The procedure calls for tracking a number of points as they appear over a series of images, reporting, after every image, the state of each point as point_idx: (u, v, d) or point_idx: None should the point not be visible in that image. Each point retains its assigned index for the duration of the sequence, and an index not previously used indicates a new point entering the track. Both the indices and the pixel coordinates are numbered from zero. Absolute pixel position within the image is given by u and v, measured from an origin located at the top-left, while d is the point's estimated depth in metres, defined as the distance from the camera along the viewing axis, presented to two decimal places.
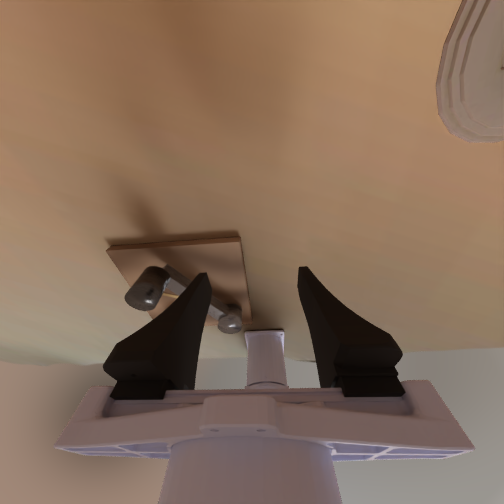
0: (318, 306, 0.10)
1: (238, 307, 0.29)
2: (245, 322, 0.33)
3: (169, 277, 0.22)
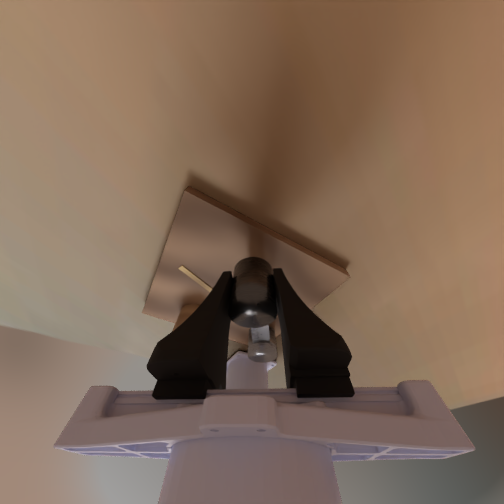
0: (282, 308, 0.10)
1: None
2: None
3: None
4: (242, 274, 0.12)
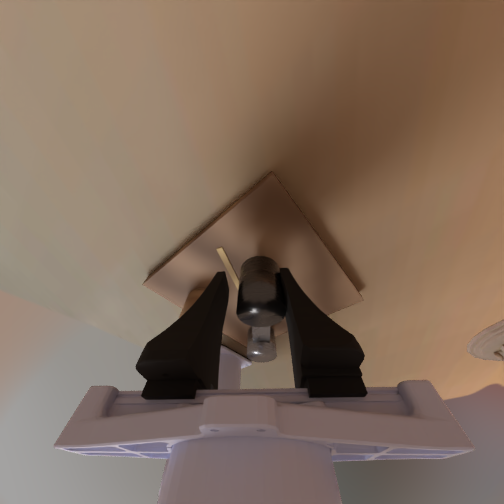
0: (291, 307, 0.10)
1: (274, 333, 0.24)
2: (245, 343, 0.27)
3: None
4: (251, 273, 0.12)
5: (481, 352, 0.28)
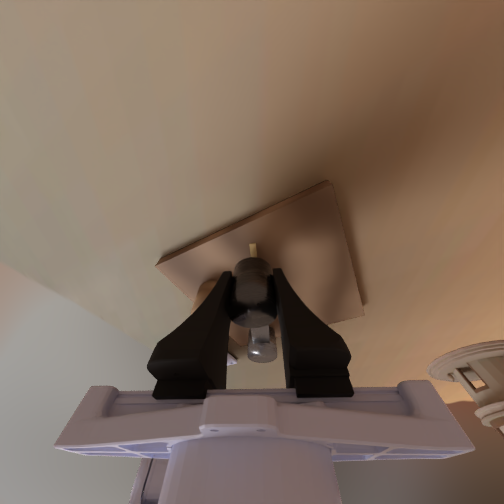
0: (282, 308, 0.10)
1: None
2: (240, 342, 0.27)
3: None
4: (242, 274, 0.13)
5: (438, 373, 0.33)
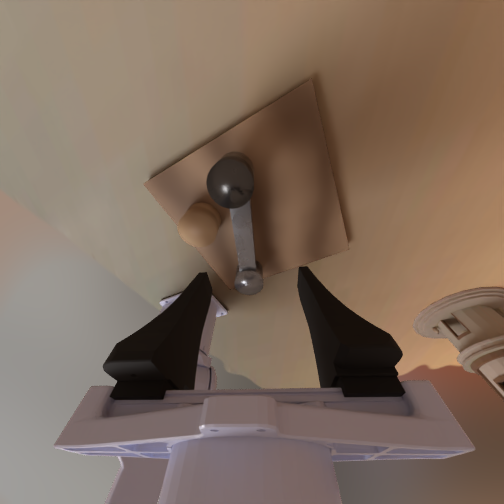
0: (318, 306, 0.10)
1: (262, 269, 0.24)
2: (229, 283, 0.27)
3: None
4: (222, 157, 0.13)
5: (423, 326, 0.34)
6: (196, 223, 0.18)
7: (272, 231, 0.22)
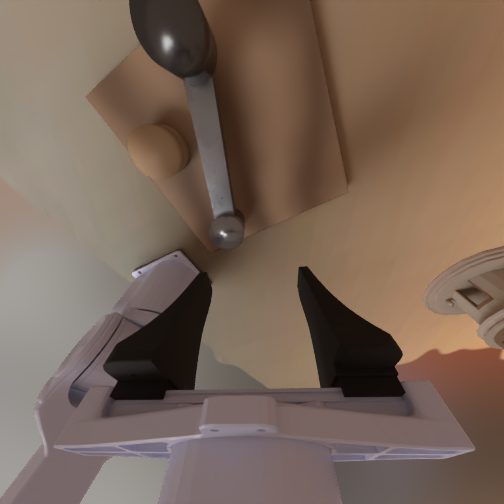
0: (318, 306, 0.10)
1: (244, 220, 0.20)
2: (208, 245, 0.23)
3: (213, 70, 0.12)
4: None
5: (435, 299, 0.30)
6: (151, 140, 0.14)
7: (254, 167, 0.18)
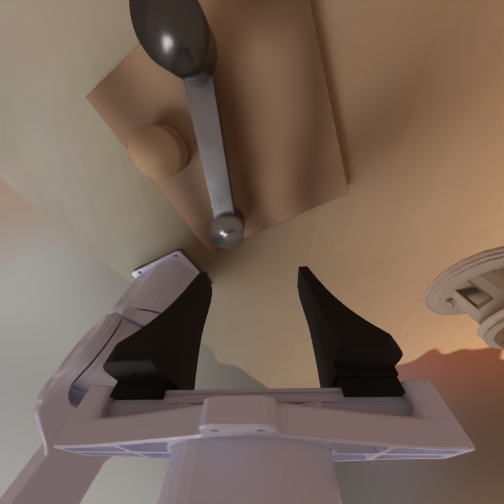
0: (318, 306, 0.10)
1: (244, 220, 0.20)
2: (208, 245, 0.23)
3: (213, 70, 0.12)
4: None
5: (435, 299, 0.30)
6: (151, 140, 0.14)
7: (254, 167, 0.18)
